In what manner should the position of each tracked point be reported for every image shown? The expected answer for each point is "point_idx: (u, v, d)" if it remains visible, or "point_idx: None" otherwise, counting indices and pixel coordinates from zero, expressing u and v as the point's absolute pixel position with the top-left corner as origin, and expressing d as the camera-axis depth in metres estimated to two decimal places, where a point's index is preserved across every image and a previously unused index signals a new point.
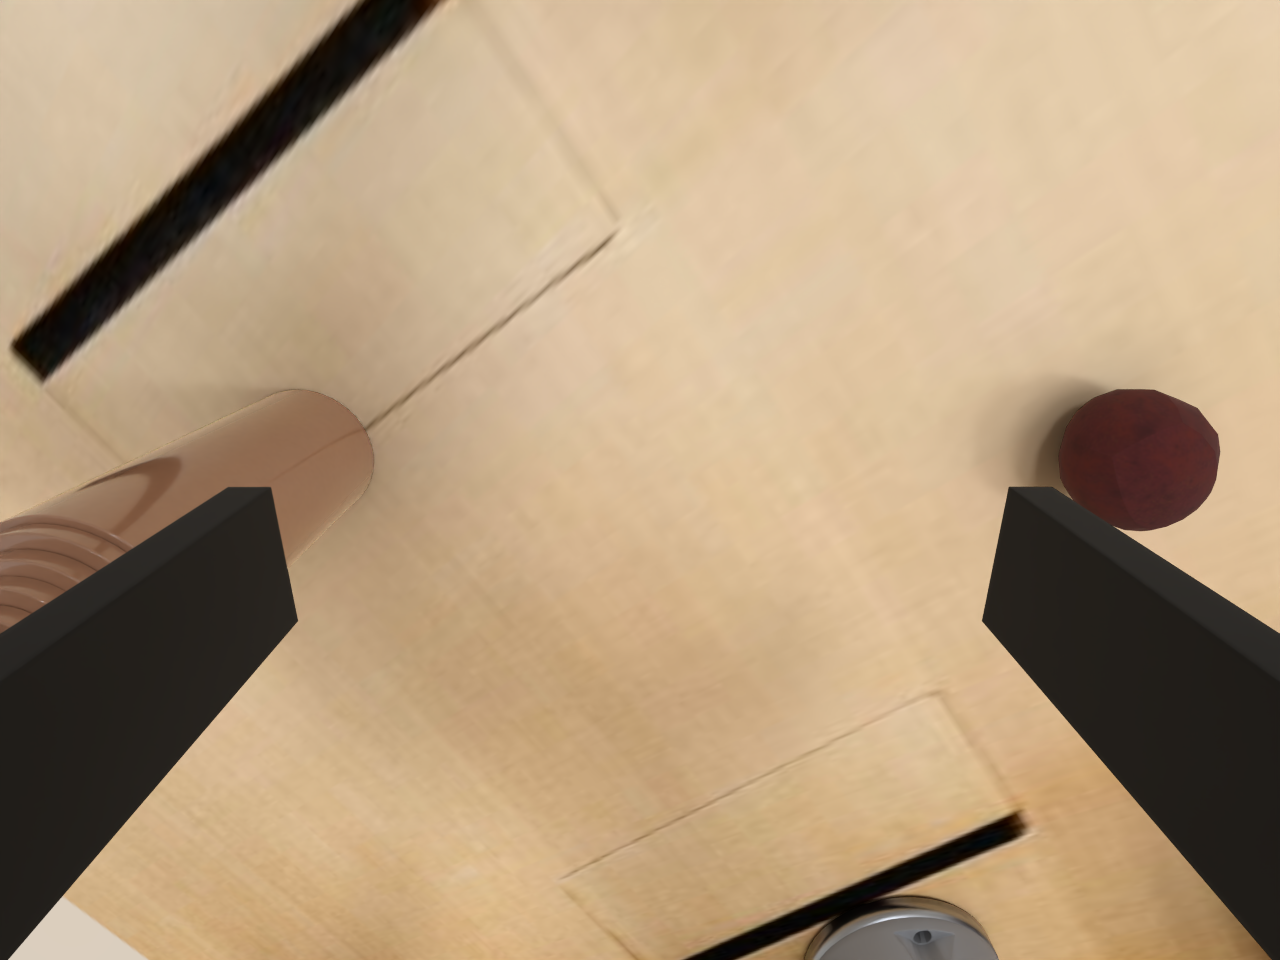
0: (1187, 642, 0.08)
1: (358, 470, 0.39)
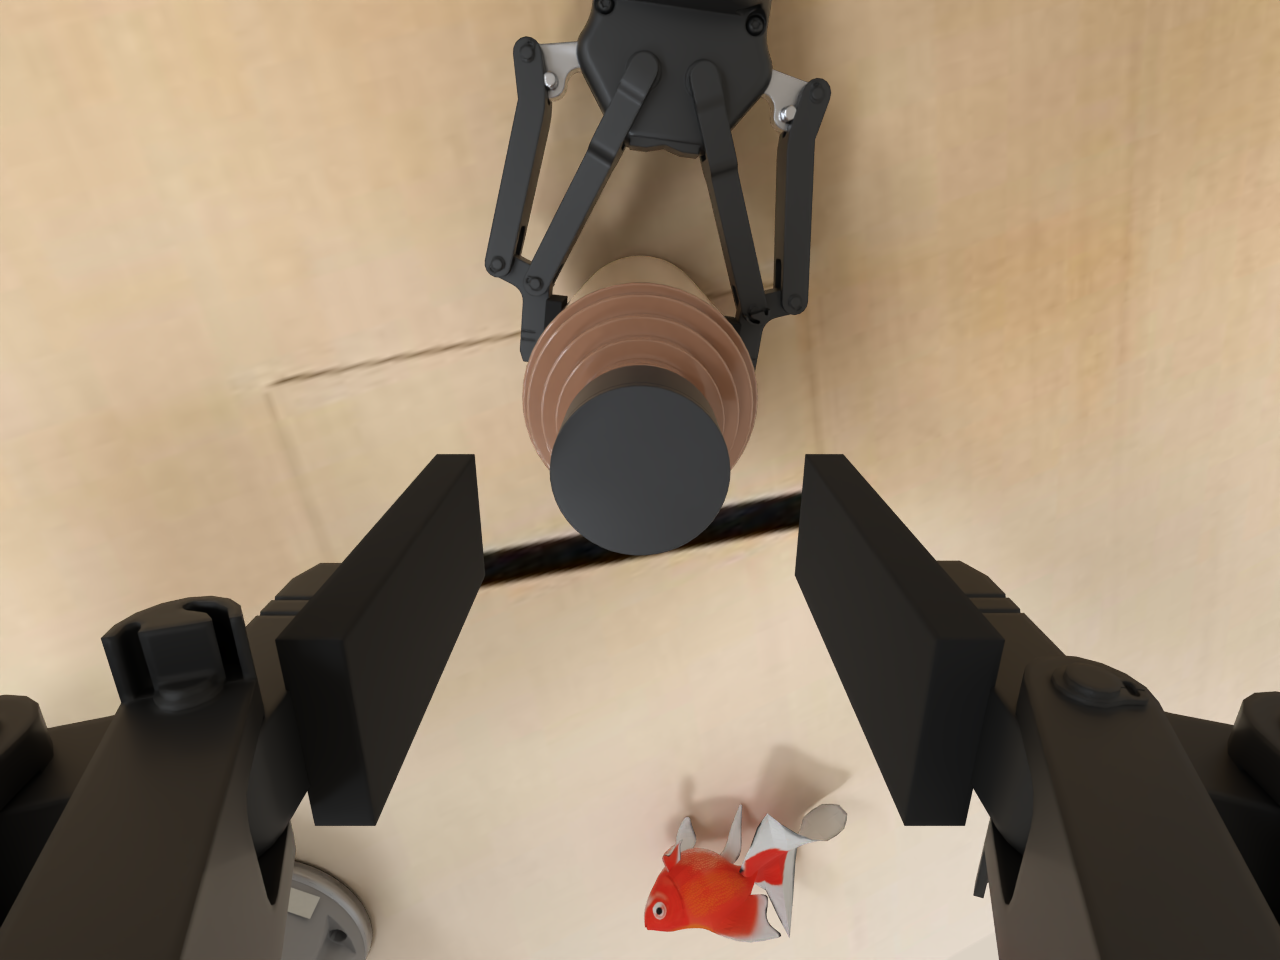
0: (872, 569, 0.10)
1: None
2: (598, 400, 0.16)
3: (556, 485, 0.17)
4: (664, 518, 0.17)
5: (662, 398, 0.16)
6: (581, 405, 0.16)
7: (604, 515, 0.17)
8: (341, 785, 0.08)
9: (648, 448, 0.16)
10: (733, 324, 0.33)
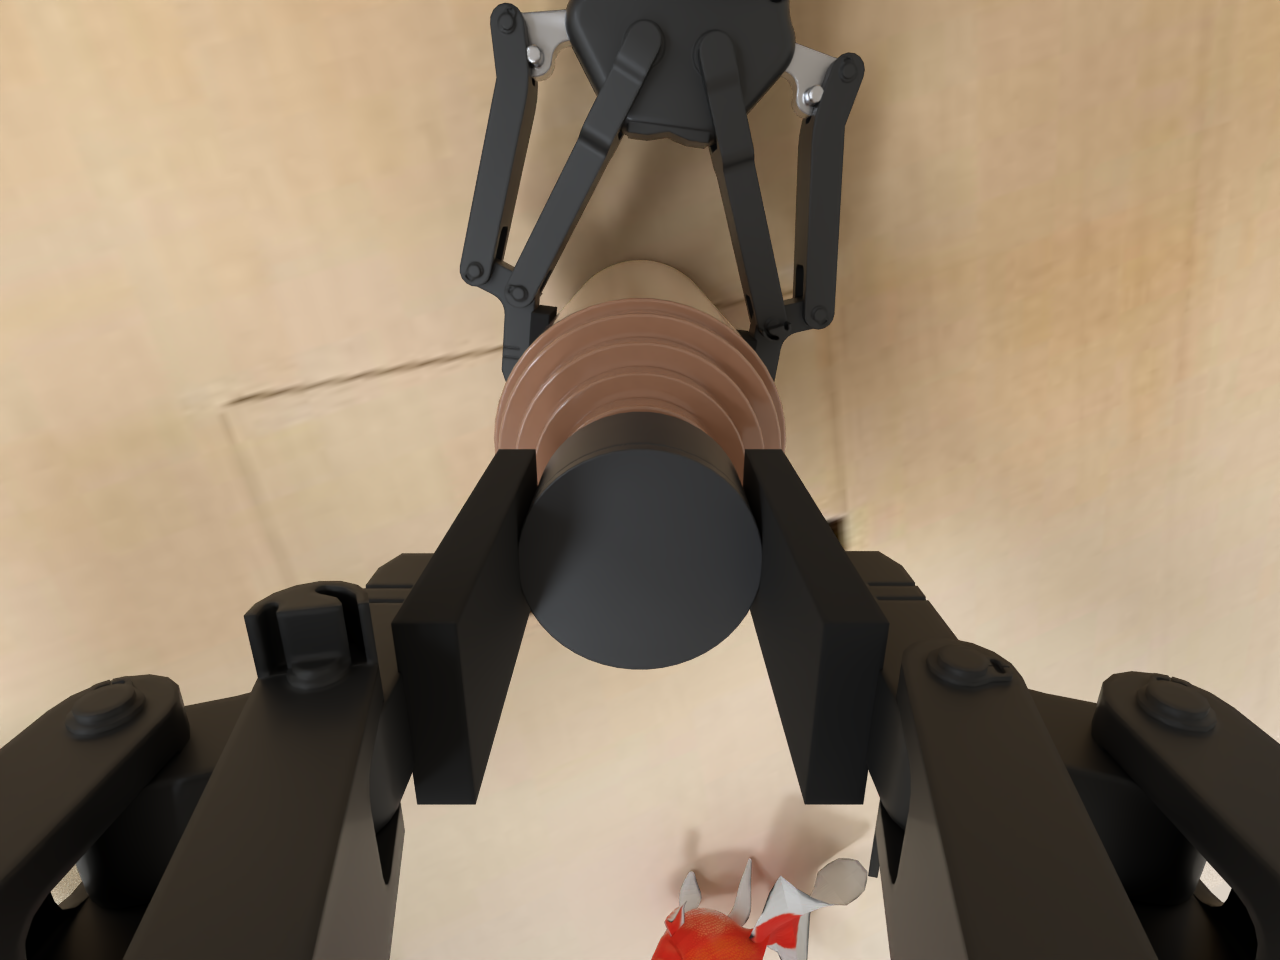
0: (785, 559, 0.10)
1: None
2: (582, 469, 0.11)
3: (526, 580, 0.12)
4: (672, 623, 0.13)
5: (671, 466, 0.11)
6: (559, 475, 0.12)
7: (591, 619, 0.12)
8: (445, 765, 0.09)
9: (650, 532, 0.12)
10: (747, 340, 0.28)
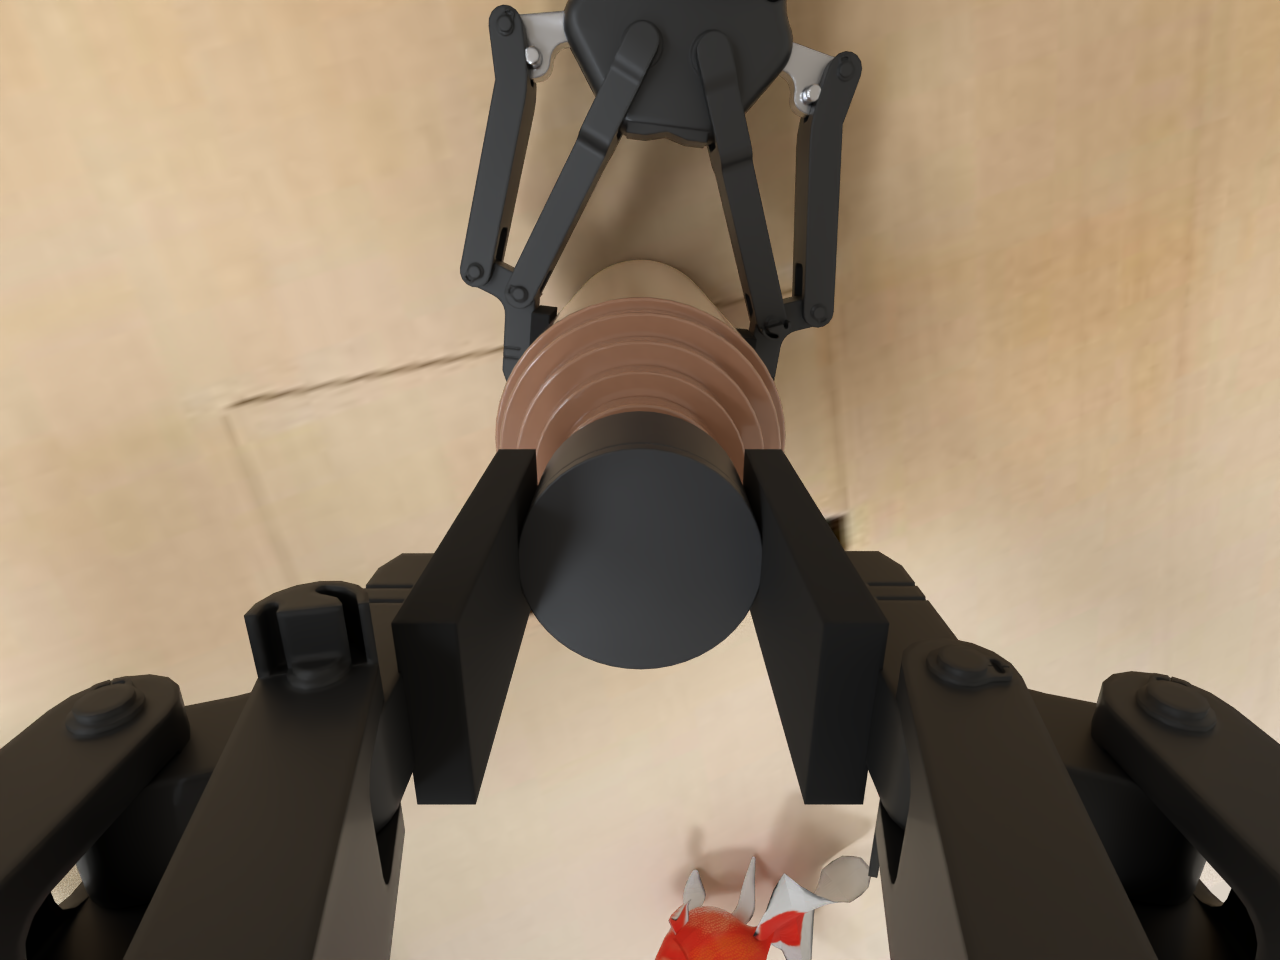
0: (785, 559, 0.10)
1: None
2: (564, 639, 0.13)
3: (690, 654, 0.13)
4: (692, 516, 0.12)
5: (530, 573, 0.12)
6: None
7: (713, 590, 0.12)
8: (445, 764, 0.09)
9: (601, 568, 0.12)
10: (747, 339, 0.28)
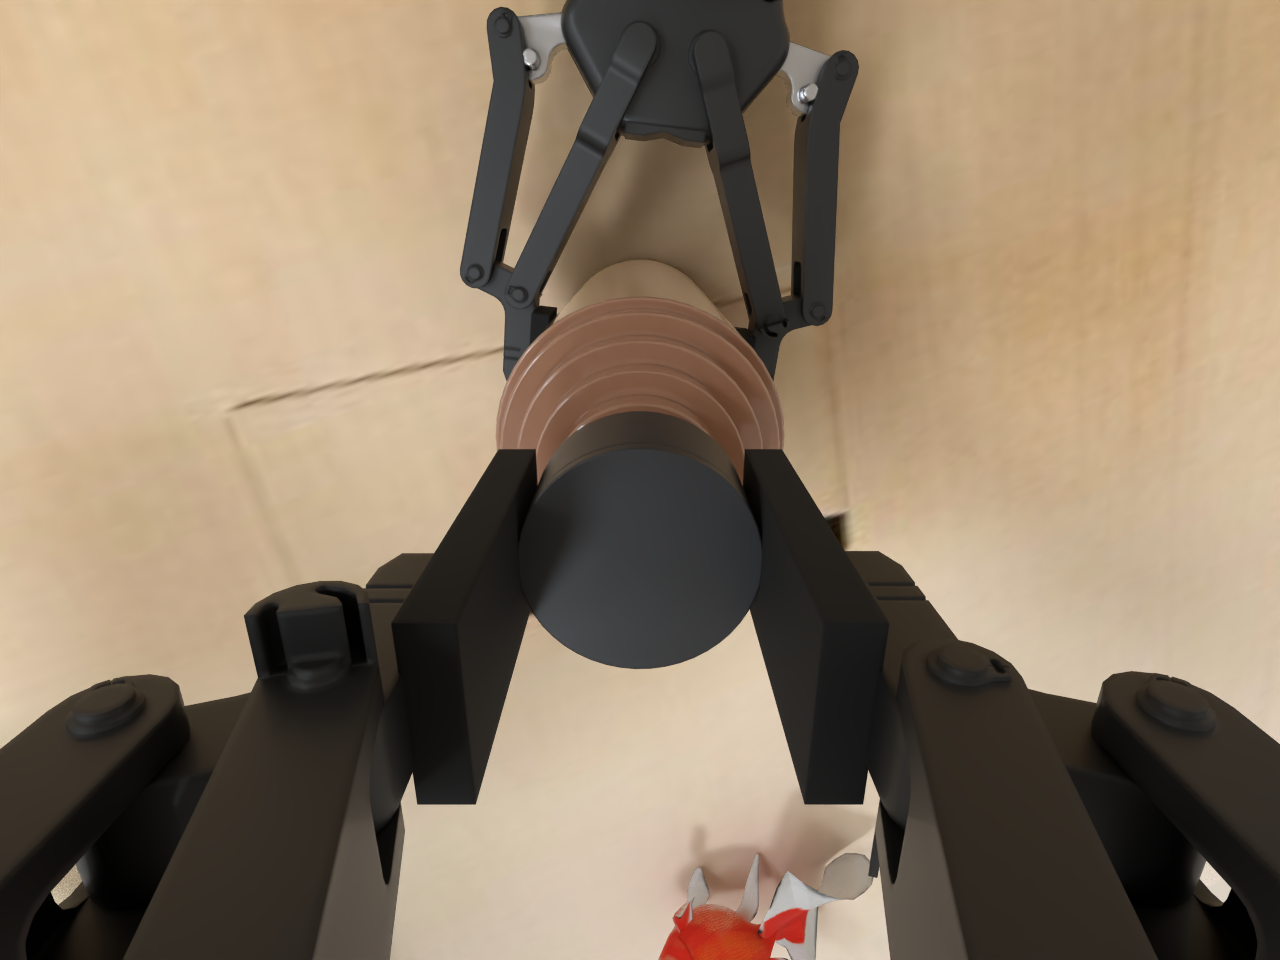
0: (785, 559, 0.10)
1: None
2: (745, 606, 0.12)
3: (723, 488, 0.12)
4: (571, 539, 0.12)
5: (682, 652, 0.13)
6: (757, 585, 0.12)
7: (640, 493, 0.12)
8: (445, 765, 0.09)
9: (655, 597, 0.12)
10: (746, 337, 0.28)
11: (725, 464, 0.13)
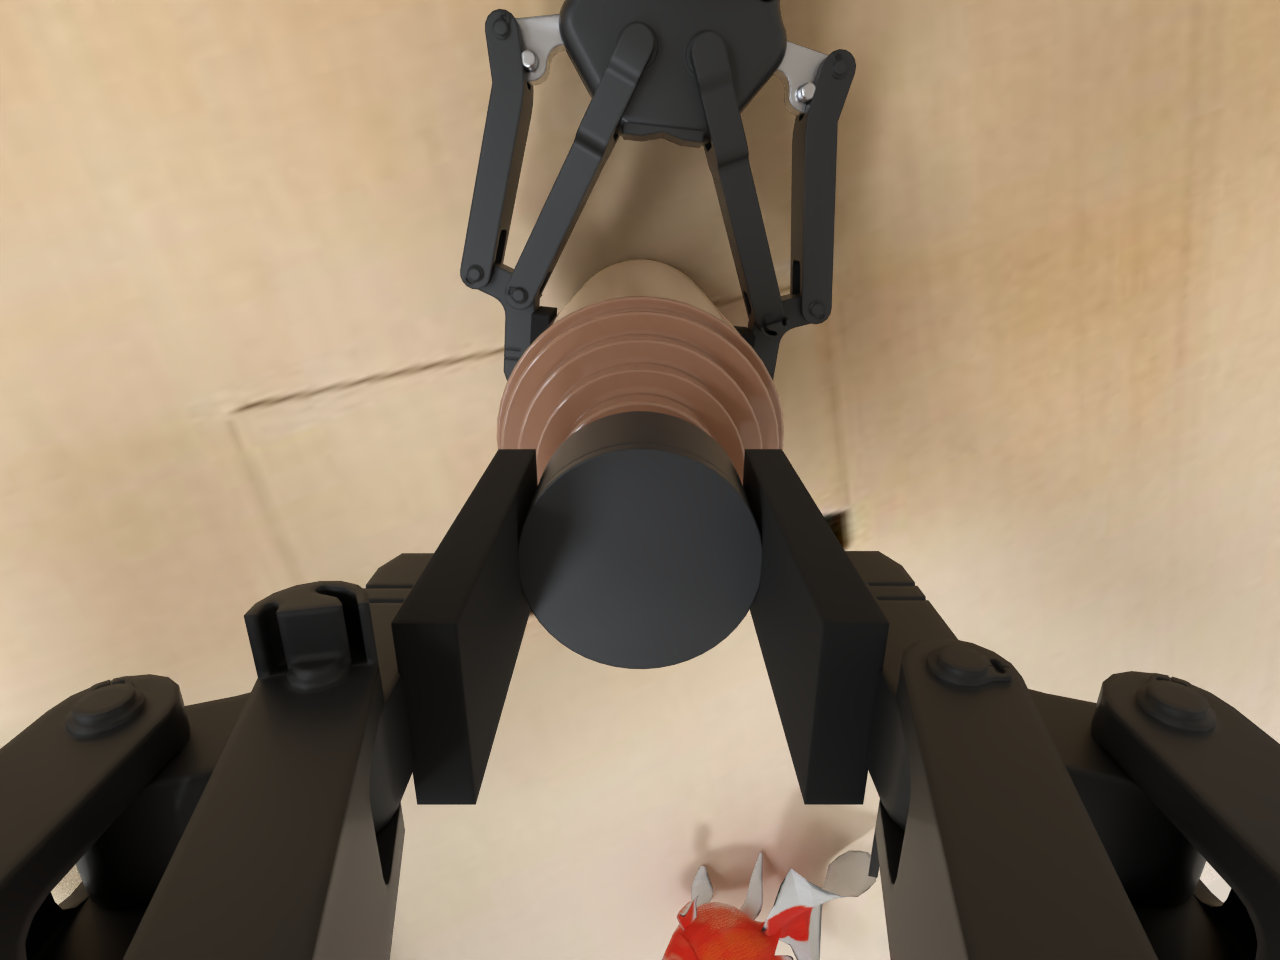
0: (785, 559, 0.10)
1: None
2: (648, 455, 0.11)
3: (531, 524, 0.12)
4: (635, 629, 0.13)
5: (724, 496, 0.12)
6: (623, 448, 0.11)
7: (567, 589, 0.12)
8: (445, 764, 0.09)
9: (670, 541, 0.12)
10: (746, 336, 0.29)
11: (537, 489, 0.13)
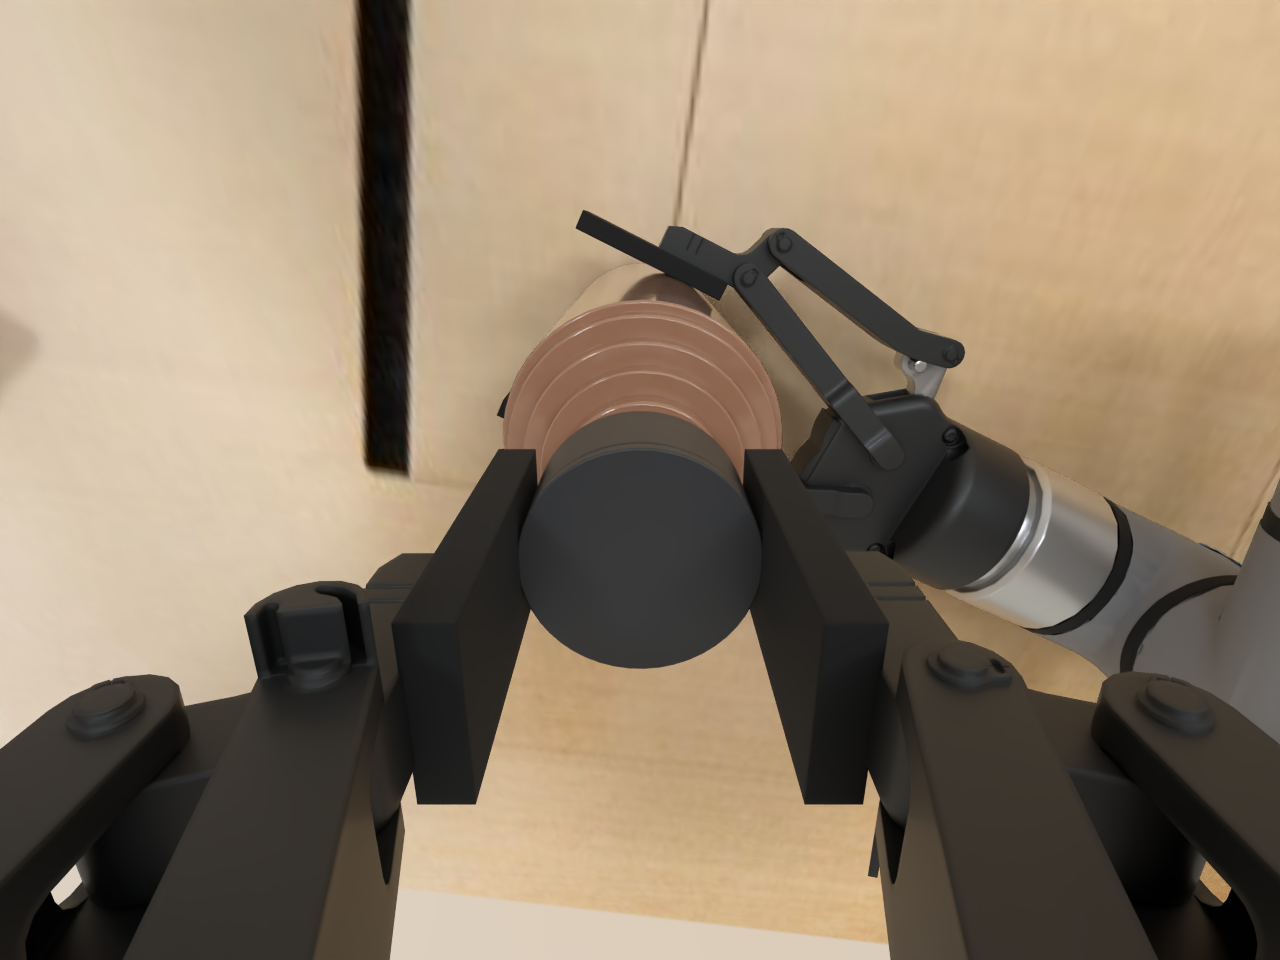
0: (785, 559, 0.10)
1: None
2: (648, 455, 0.11)
3: (532, 523, 0.12)
4: (635, 629, 0.13)
5: (724, 496, 0.12)
6: (623, 448, 0.11)
7: (567, 588, 0.12)
8: (445, 765, 0.09)
9: (669, 541, 0.12)
10: None
11: (537, 489, 0.13)
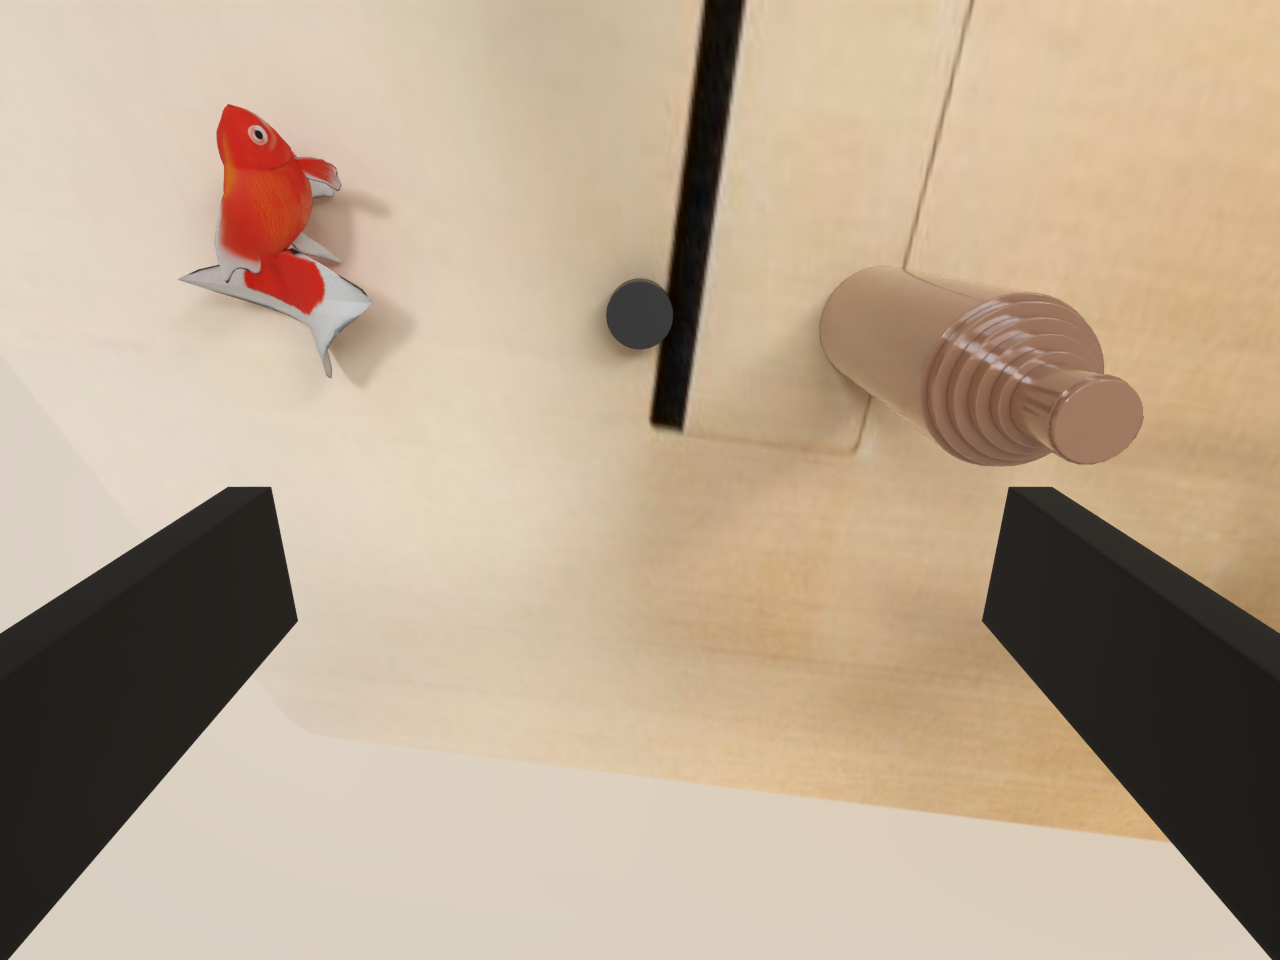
0: (1187, 642, 0.08)
1: None
2: (641, 283, 0.44)
3: (611, 303, 0.45)
4: (638, 335, 0.45)
5: (661, 295, 0.45)
6: (635, 281, 0.44)
7: (619, 323, 0.45)
8: None
9: (647, 308, 0.45)
10: None
11: None
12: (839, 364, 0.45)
